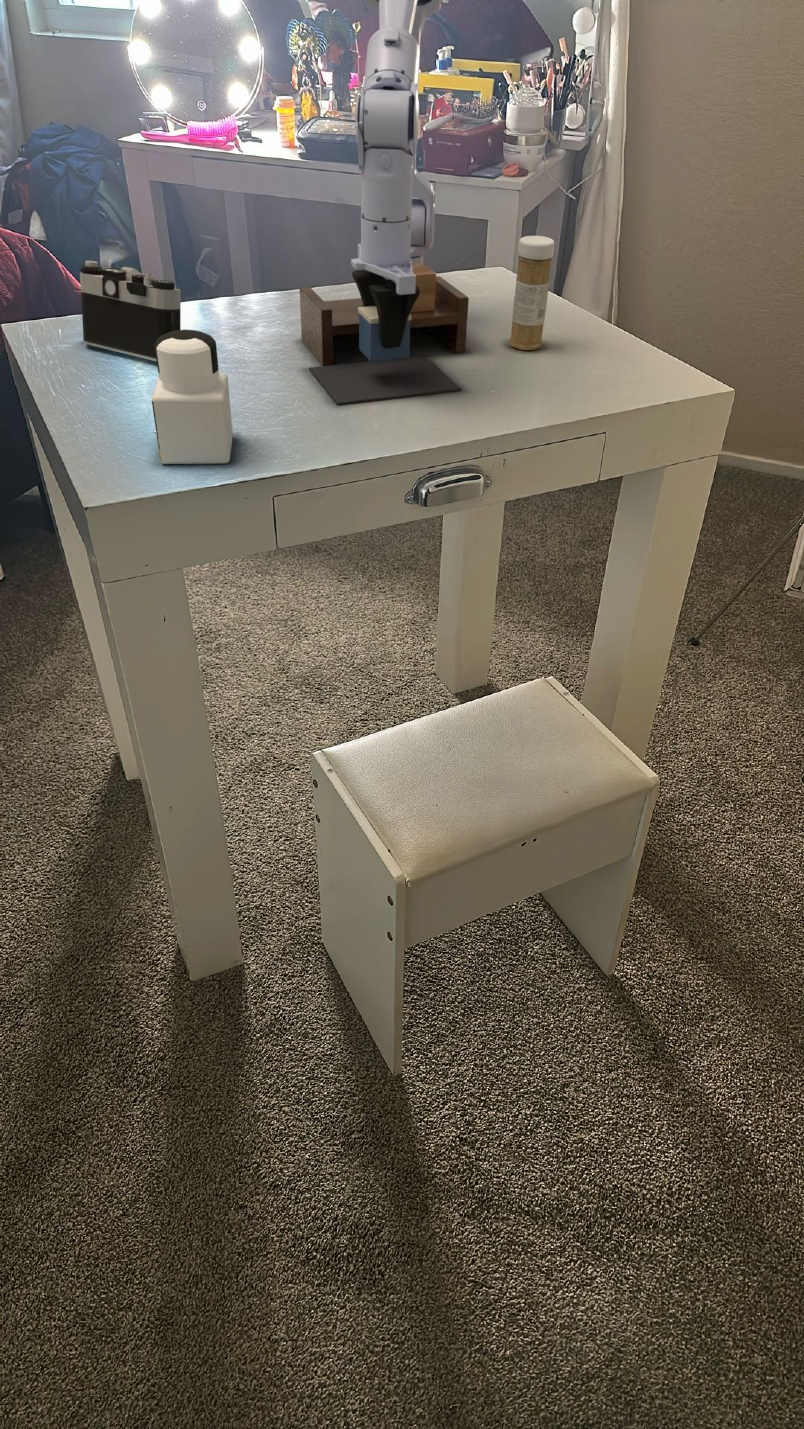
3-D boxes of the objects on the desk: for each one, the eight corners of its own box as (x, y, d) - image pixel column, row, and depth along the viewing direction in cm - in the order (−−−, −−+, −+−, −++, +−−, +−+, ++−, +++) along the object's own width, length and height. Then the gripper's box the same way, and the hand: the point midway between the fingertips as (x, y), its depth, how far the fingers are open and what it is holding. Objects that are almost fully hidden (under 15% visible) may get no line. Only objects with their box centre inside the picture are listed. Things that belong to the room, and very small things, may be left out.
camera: (213, 356, 125) (214, 275, 120) (160, 364, 117) (159, 277, 112) (128, 336, 130) (126, 257, 125) (71, 342, 122) (66, 258, 117)
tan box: (391, 303, 125) (392, 266, 122) (422, 300, 126) (423, 264, 123) (403, 313, 122) (404, 275, 119) (434, 310, 123) (436, 273, 120)
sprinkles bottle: (525, 338, 130) (537, 232, 122) (548, 347, 128) (562, 240, 119) (501, 344, 128) (512, 237, 120) (525, 353, 126) (537, 245, 117)
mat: (308, 369, 119) (308, 367, 119) (425, 357, 123) (425, 355, 123) (337, 405, 110) (337, 402, 110) (460, 390, 115) (461, 388, 115)
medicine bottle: (167, 436, 102) (152, 323, 95) (233, 436, 103) (223, 324, 95) (160, 465, 97) (143, 348, 89) (229, 464, 98) (218, 348, 90)
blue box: (358, 349, 116) (357, 307, 112) (397, 345, 117) (398, 303, 114) (370, 361, 112) (370, 319, 109) (410, 357, 114) (411, 315, 111)
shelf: (301, 341, 127) (299, 287, 122) (437, 328, 133) (439, 276, 128) (322, 367, 120) (321, 310, 115) (465, 352, 125) (469, 297, 121)
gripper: (333, 204, 109) (335, 324, 118) (373, 234, 99) (372, 363, 107) (389, 201, 111) (387, 319, 120) (435, 230, 101) (429, 357, 109)
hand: (384, 340), depth 114 cm, fingers closed on blue box, 4 cm apart
